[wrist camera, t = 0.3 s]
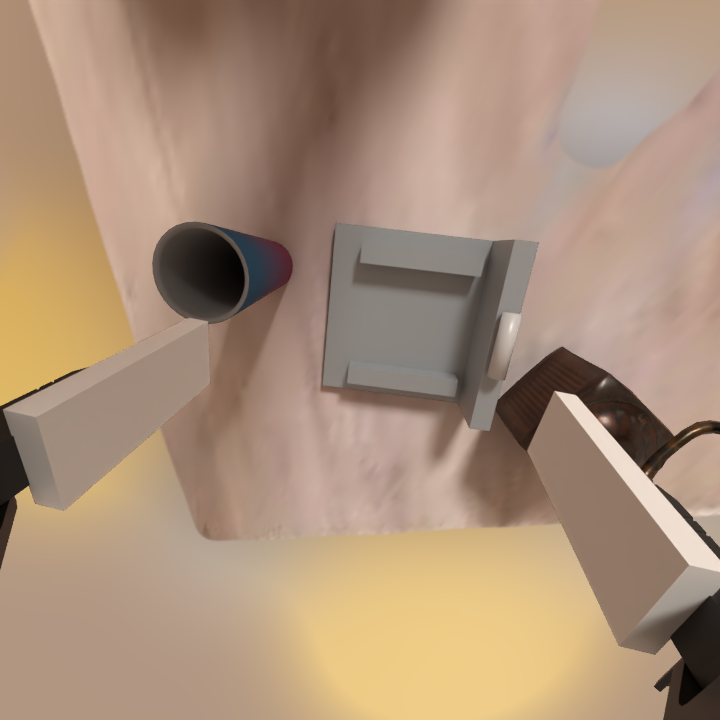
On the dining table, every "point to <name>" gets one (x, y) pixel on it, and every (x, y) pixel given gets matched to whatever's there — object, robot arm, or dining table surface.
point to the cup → (216, 270)
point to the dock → (425, 315)
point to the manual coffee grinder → (594, 409)
